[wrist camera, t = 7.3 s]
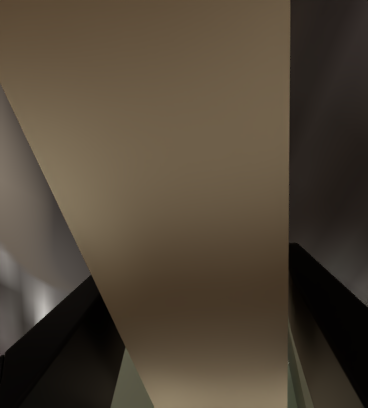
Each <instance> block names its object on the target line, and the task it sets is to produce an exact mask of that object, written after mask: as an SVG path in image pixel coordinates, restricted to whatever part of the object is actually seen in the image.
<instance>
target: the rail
mask: <svg viewBox="0 0 368 408" xmlns="http://www.w3.org/2000/svg"><path fill="white" fill-rule="evenodd" d="M0 84H1V86H2V88H3V90H4V92H5V94H6V96H7V98H8V100H9V103H10V105H11V106H12V109H13V111H14V113H15V115H16V117H17V119H18V121H19V124H20V125H21V128H22V130H23V132H24V134H25V136H26V138H27V140H28V142H29V145H30V147H31V149H32V151H33V153H34V155H35V157H36V159H37V161H38V164H39V166H40V168H41V170H42V172H43V174H44V176H45V178H46V180H47V182H48V184H49V187H50V189H51V191H52V193H53V195H54V197H55V199H56V201H57V204H58V206H59V208H60V210H61V212H62V214H63V216H64V218H65V220H66V222H67V224H68V227H69V229H70V231H71V233H72V235H73V237H74V239H75V241H76V243H77V246H78V248H79V249H80V252H81V254H82V256H83V258H84V260H85V262H86V264H87V266H88V269H89V271H90V273H91V275H92V277H93V279H94V281H95V283H96V286H97V288H98V290H99V292H100V294H101V296H102V298H103V300H104V302H105V304H106V307H107V309H108V311H109V313H110V315H111V317H112V319H113V321H114V323H115V326H116V328H117V330H118V332H119V334H120V336H121V338H122V340H123V342H124V344H125V347H126V349H127V351H128V353H129V355H130V357H131V359H132V361H133V363H134V365H135V368H136V370H137V372H138V374H139V376H140V378H141V380H142V382H143V384H144V387H145V389H146V391H147V393H148V395H149V397H150V399H151V401H152V403H153V405H154V408H287V387H288V252H289V117H290V0H0Z"/></svg>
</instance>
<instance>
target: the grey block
mask: <svg viewBox="0 0 368 408" xmlns="http://www.w3.org/2000/svg"><path fill="white" fill-rule="evenodd" d="M288 362H289V365H288V387H287V408H314V406H313V403H312V399H311V396H310V393H309V389H308V386H307V383H306V380H305V376H304V373H303V370H302V366H301V363H300V360H299V357H298V353H297V350H296V347H295V343H294V340H293V336H292V333H291V329H290V324H289V319H288ZM111 408H154V405H153V403H152V401H151V399H150V397H149V395H148V393H147V391H146V389H145V387H144V384H143V382H142V380H141V378H140V376H139V374H138V372H137V370H136V368H135V365H134V363H133V361H132V359H131V357H130V355H129V353H128V351H127V349H126V348H125V352H124V356H123V360H122V364H121V368H120V372H119V376H118V380H117V384H116V388H115V392H114V396H113V400H112V404H111Z"/></svg>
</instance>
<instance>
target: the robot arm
mask: <svg viewBox="0 0 368 408" xmlns="http://www.w3.org/2000/svg"><path fill="white" fill-rule="evenodd" d="M288 319H289V324H290V329H291V333H292V336H293V340H294V343H295V347H296V350H297V353H298V357H299V360H300V363H301V366H302V370H303V373H304V376H305V380H306V383H307V386H308V389H309V393H310V396H311V399H312V403H313V406H314V408H368V307H367V306H366V305H365V304H363V303H362V302H361V301H360V300H359V299H358V298H357V297H356V296H355V295H354V294H353V293H351V292H350V291H349V290H348V289H347V288H346V287H345V286H344V285H343V284H342V283H340V282H339V281H338V280H337V279H336V278H335V277H334V276H333V275H332V274H331V273H330V272H328V271H327V270H326V269H325V268H324V267H323V266H322V265H321V264H320V263H319V262H318V261H316V260H315V259H314V258H313V257H312V256H311V255H310V254H309V253H308V252H307V251H305V250H304V249H303V248H302V247H301V246H300V245H299V244H297V243H289V252H288ZM125 348H126V347H125V344H124V342H123V340H122V338H121V336H120V334H119V332H118V330H117V328H116V326H115V323H114V321H113V319H112V317H111V315H110V313H109V311H108V309H107V307H106V304H105V302H104V300H103V298H102V296H101V294H100V292H99V290H98V288H97V286H96V283H95V281H94V279H93V277H92V275H90V276H89V277H88V278H87V279H86V280H85V281H84V282H83V283H81V284H80V285H79V286H78V287H77V288H76V289H75V290H74V291H73V292H71V293H70V294H69V295H68V296H67V297H66V298H65V299H64V300H63V301H61V302H60V303H59V304H58V305H57V306H56V307H55V308H54V309H53V310H51V311H50V312H49V313H48V314H47V315H46V316H45V317H44V318H43V319H41V320H40V321H39V322H38V323H37V324H36V325H35V326H34V327H33V328H31V329H30V330H29V331H28V332H27V333H26V334H25V335H24V336H23V337H21V338H20V339H19V340H18V341H17V342H16V343H15V344H14V345H13V346H11V347H10V348H9V349H8V350H7V351H6V352H5V355H1V356H0V408H111V404H112V400H113V396H114V392H115V388H116V384H117V380H118V376H119V372H120V368H121V364H122V360H123V356H124V352H125Z"/></svg>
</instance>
